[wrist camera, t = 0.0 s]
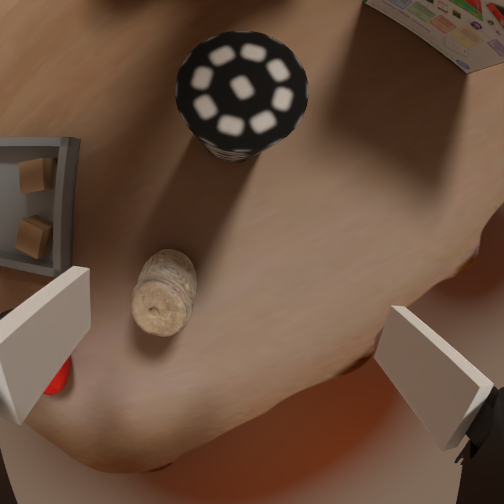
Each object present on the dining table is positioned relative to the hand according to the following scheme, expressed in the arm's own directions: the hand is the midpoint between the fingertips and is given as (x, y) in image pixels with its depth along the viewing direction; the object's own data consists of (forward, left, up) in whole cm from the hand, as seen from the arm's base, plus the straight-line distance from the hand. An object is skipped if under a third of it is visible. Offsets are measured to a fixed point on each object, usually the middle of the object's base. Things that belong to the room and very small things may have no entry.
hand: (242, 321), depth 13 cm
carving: (+8, -6, -28) cm, 30 cm away
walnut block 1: (-3, -26, -27) cm, 38 cm away
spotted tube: (-11, -1, -28) cm, 30 cm away
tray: (+1, -34, -28) cm, 44 cm away
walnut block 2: (+5, -26, -27) cm, 38 cm away
